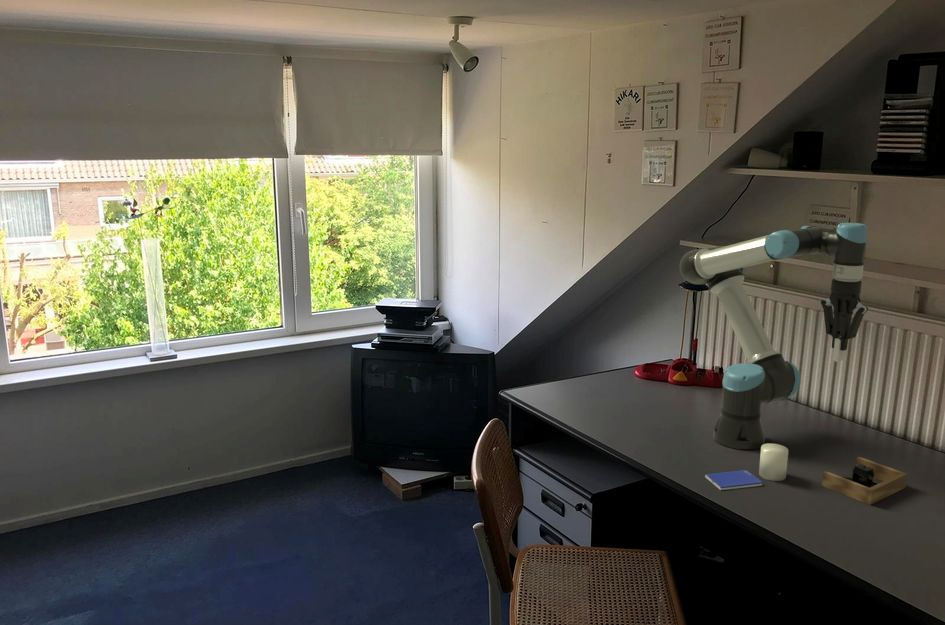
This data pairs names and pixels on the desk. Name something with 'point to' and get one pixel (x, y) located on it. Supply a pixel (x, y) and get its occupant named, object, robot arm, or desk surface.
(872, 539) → the desk surface
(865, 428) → the desk surface
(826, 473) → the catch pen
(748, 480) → the hard drive
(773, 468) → the cream cylinder
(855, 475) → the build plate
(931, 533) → the desk surface
